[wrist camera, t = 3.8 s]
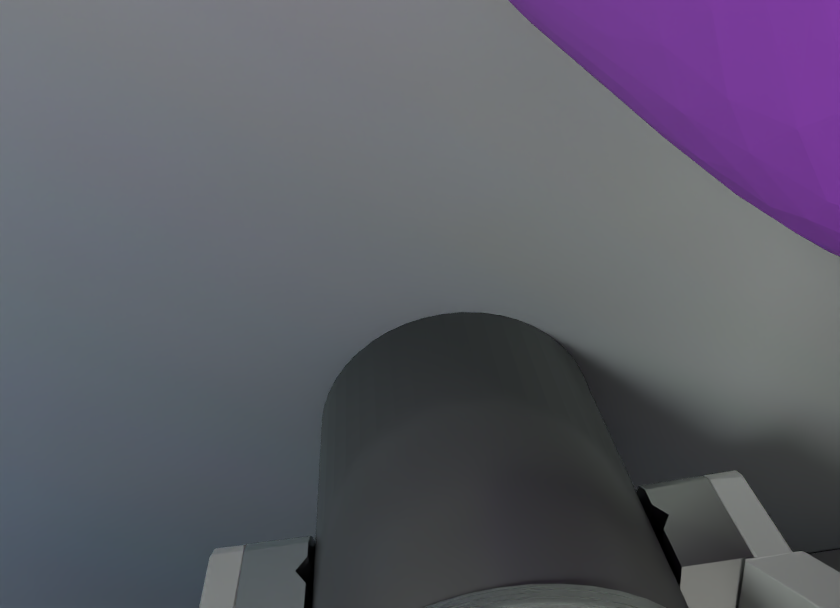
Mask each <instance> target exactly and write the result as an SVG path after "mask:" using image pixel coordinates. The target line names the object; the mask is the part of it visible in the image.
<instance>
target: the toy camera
mask: <svg viewBox="0 0 840 608" xmlns="http://www.w3.org/2000/svg"><path fill="white" fill-rule="evenodd" d="M509 1H510V2H511V3H512V4H513V5H514V6H515V7H516V9H517V10H518V11H519V12H521V13H522V14H523V15H524V16H525V17H526V18H527V19H528V20H529V21H530V22H531V23H532V24H533V25H534V26H535V27H537V28H538V29H539V30H540V31H541V32H542V33H544V34H545V35H546V36H547V37H548V38H549V39H551V40H552V41H553V42H554V43H555V44H556V45H557V46H559V47H560V48H561V49H562V50H563V51H564V52H566V53H567V54H568V55H569V56H570V57H571V58H573V59H574V60H575V61H576V62H577V63H578V64H580V65H581V66H582V67H583V68H584V69H585V70H586V71H588V72H589V73H590V74H591V75H592V76H593V77H595V78H596V79H597V80H598V81H599V82H600V83H602V84H603V85H604V86H605V87H606V88H607V89H609V90H610V91H611V92H612V93H613V94H614V95H616V96H617V97H618V98H619V99H620V100H621V101H622V102H624V103H625V104H626V105H627V106H628V107H629V108H631V109H632V110H633V111H634V112H635V113H636V114H638V115H639V116H640V117H641V118H642V119H643V120H645V121H646V122H647V123H648V124H649V125H650V126H651V127H653V128H654V129H655V130H656V131H657V132H658V133H660V134H661V135H662V136H663V137H664V138H665V139H667V140H668V141H669V142H671V143H672V144H673V145H674V146H676V147H677V148H678V149H679V150H681V151H682V152H683V153H684V154H686V155H687V156H688V157H690V158H691V159H692V160H693V161H695V162H696V163H697V164H698V165H700V166H701V167H702V168H703V169H705V170H706V171H707V172H709V173H710V174H711V175H712V176H714V177H715V178H716V179H717V180H719V181H720V182H721V183H723V184H724V185H725V186H726V187H728V188H729V189H730V190H731V191H733V192H734V193H735V194H736V195H738V196H740V197H741V198H743V199H744V200H746V201H747V202H749V203H750V204H752V205H754V206H755V207H757V208H758V209H760V210H761V211H763V212H764V213H766V214H767V215H769V216H771V217H772V218H774V219H775V220H777V221H778V222H780V223H781V224H783V225H785V226H786V227H788V228H789V229H791V230H792V231H794V232H795V233H797V234H799V235H801V236H802V237H804V238H806V239H808V240H809V241H811V242H813V243H815V244H816V245H818V246H820V247H822V248H823V249H825V250H827V251H829V252H831V253H833V254H835V255H838V256H840V0H509Z"/></svg>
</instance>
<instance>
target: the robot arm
mask: <svg viewBox="0 0 840 608" xmlns="http://www.w3.org/2000/svg"><path fill="white" fill-rule="evenodd" d="M637 495H638V497H639V500H640V502H641V504H642V506H643V508H644V511H645V513H646V515H647V517H648V519H649V522H650V524H651V526H652V528H653V530H654V532H655V535H656V537H657V539H658V541H659V543H660V546H661V548H662V550H663V552H664V554H665V557H666V559H667V561H668V563H669V565H670V568H671V570H672V572H673V574H674V576H675V578H676V581H677V583H678V585H679V587H680V589H681V592H682V594H683V596H684V598H685V600H686V603H687V605H688V607H689V608H840V572H838V571H836V570H835V569H833V568H831V567H830V566H828V565H826V564H824V563H823V562H821V561H819V560H818V559H816V558H814V557H812V556H811V555H809V554H807V553H806V552H804V551H798V552H792V550H791V549H790V547H789V545H788V544H787V542H786V541H785V539H784V538H783V536H782V535H781V533H780V532H779V530H778V529H777V527H776V526H775V524H774V523H773V521H772V520H771V518H770V517H769V515H768V513H767V512H766V510H765V509H764V507H763V506H762V504H761V503H760V501H759V500H758V498H757V497H756V495H755V494H754V492H753V491H752V489H751V488H750V486H749V485H748V483H747V481H746V480H745V478H744V477H743V475H742V474H740V473H739V472H737V471H736V470H735V471H729V472H722V473H716V474H710V475H704V476H696V477H690V478H684V479H677V480H671V481H665V482H659V483H653V484H646V485H640V486H639V487H638V490H637ZM314 560H315V541H314V538H313V537H312V536H305V537H297V538H289V539H281V540H273V541H265V542H257V543H249V544H245V545H238V546H230V547H222V548H215V549H214V551H213V552H212V554H211V556H210V558H209V562H208V567H207V572H206V576H205V581H204V586H203V591H202V596H201V600H200V605H199V608H312V598H313V579H314Z"/></svg>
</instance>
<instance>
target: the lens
mask: <svg viewBox="0 0 840 608" xmlns="http://www.w3.org/2000/svg"><path fill="white" fill-rule="evenodd" d="M312 608H689V607H688V605H687V603H686V600H685V598H684V596H683V594H682V592H681V589H680V587H679V585H678V583H677V581H676V578H675V576H674V574H673V572H672V570H671V568H670V565H669V563H668V561H667V559H666V557H665V554H664V552H663V550H662V548H661V546H660V543H659V541H658V539H657V537H656V535H655V532H654V530H653V528H652V526H651V524H650V522H649V519H648V517H647V515H646V513H645V511H644V508H643V506H642V504H641V502H640V500H639V497H638V495H637V493H636V491H635V489H634V486H633V484H632V482H631V480H630V478H629V476H628V473H627V471H626V469H625V467H624V465H623V462H622V460H621V458H620V456H619V454H618V451H617V449H616V447H615V445H614V443H613V440H612V438H611V436H610V434H609V432H608V430H607V427H606V425H605V423H604V421H603V419H602V416H601V414H600V412H599V410H598V408H597V405H596V403H595V401H594V399H593V397H592V394H591V392H590V390H589V388H588V386H587V384H586V381H585V379H584V377H583V375H582V373H581V371H580V368H579V367H578V365H577V364H576V362H575V361H574V359H573V358H572V357H571V355H570V354H569V353H568V352H567V351H566V350H565V349H564V348H563V347H562V346H561V345H560V344H559V343H558V342H556V341H555V340H554V339H552V338H551V337H550V336H549V335H547V334H545V333H544V332H542V331H540V330H538V329H537V328H535V327H533V326H531V325H528V324H526V323H523V322H521V321H518V320H515V319H511V318H507V317H504V316H500V315H493V314H486V313H464V312H461V313H451V314H441V315H436V316H432V317H427V318H423V319H419V320H416V321H413V322H410V323H407V324H405V325H402V326H400V327H398V328H396V329H394V330H391V331H389V332H387V333H386V334H384V335H382V336H381V337H379V338H377V339H376V340H374V341H372V342H371V343H370V344H369V345H367V346H366V347H365V348H364V349H362V350H361V351H360V352H359V353H358V354H357V355H356V356H355V357H354V358H353V359H352V360H351V361H350V362H349V363H348V364H347V365H346V366H345V368H344V369H343V370H342V372H341V373H340V374H339V376H338V377H337V378H336V380H335V382H334V384H333V386H332V388H331V390H330V392H329V394H328V397H327V400H326V403H325V406H324V411H323V417H322V427H321V446H320V465H319V484H318V503H317V522H316V541H315V560H314V579H313V598H312Z"/></svg>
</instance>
